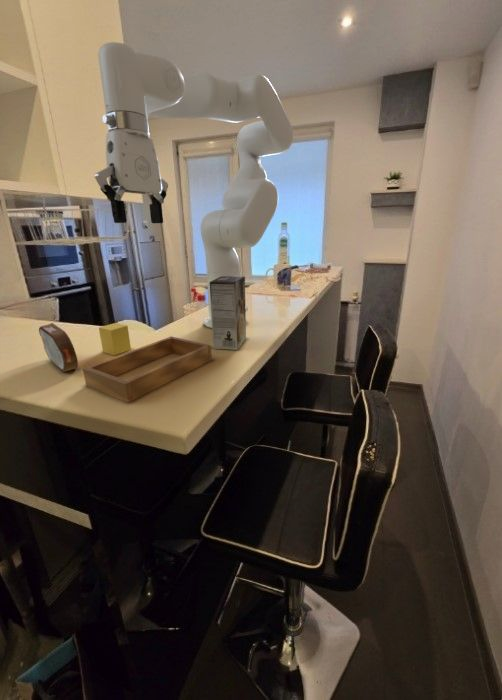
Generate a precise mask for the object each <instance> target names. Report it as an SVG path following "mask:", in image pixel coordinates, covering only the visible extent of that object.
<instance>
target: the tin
mask: <svg viewBox="0 0 502 700" xmlns="http://www.w3.org/2000/svg"><path fill="white" fill-rule="evenodd" d="M38 333H39V336H40V337H41V338H40V339H41V340H42V344H43V348H44V352H45V353H46V356H47V357H48V359H49V360H50V361H51V363H53V364H54V365H55V367H57V368H58V369H59V370H60V371H61V372H62V373H66V372H70V371H72V370H77V369H78V368H79V360H78V356H77V353H76V350H75V346H74V344H73V342H72V340H71V338H70V337H69V335H68V333H67V332H66V331H65V330H64V329H62V328H61V327H59V326H58V325H56V324H55V323H53V322H50V323H48V324H44V325H41V326H39V328H38Z"/></svg>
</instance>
